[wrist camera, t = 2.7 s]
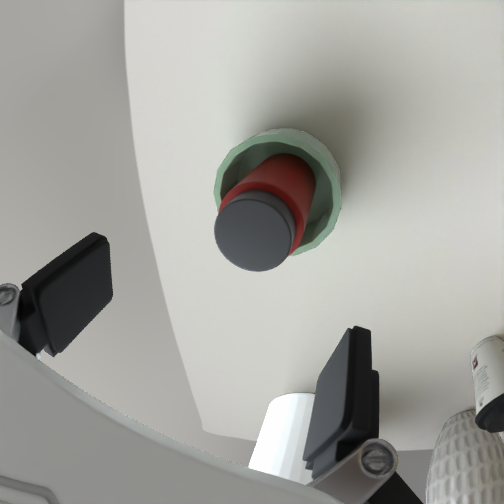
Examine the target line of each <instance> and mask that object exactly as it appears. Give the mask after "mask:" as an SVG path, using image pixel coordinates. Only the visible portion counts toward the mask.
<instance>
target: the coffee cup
mask: <svg viewBox="0 0 504 504" xmlns="http://www.w3.org/2000/svg"><path fill="white" fill-rule="evenodd" d="M470 357H471V366H472V373H473V382H474V391H475V403H476V417H475V423H476V424H477V426H478V427H479V428H480V429H482V430H487V431H488V432H489V433H496V432H502V431H504V342H503V341H502V339H501V338H499V337H489V338H487V339H484V340H483V341H481V342H480V343H478V344H477V345H476V346H475V348H474V349H473V350H472V352H471V355H470Z"/></svg>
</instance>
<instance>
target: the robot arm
mask: <svg viewBox="0 0 504 504" xmlns="http://www.w3.org/2000/svg"><path fill="white" fill-rule="evenodd" d="M109 246H110V245H109V242H108V241H107V238H106V237H105V236H103V235H100V234H98V233H95V232H93V233H91V234H89V235H88V236H86V237H85V238H83V239H82V240H80V241H79V242H78V243H76V244H75V245H73V246H72V247H70V248H69V249H68V250H66V251H65V252H63V253H62V254H61V255H59V256H58V257H56V258H55V259H54V260H52V261H51V262H50V263H49V264H47V265H46V266H45V267H43V268H42V269H40V270H39V271H38V272H37V273H35V274H34V275H32V276H31V277H30V278H29V279H28V280H26V281H25V282H24V283H22V284H21V285H22V288H23V289H22V290H21V291H19V288H18V287H17V286H16V285H14V284H10V283H6V284H2V285H0V504H423V503H422V502H421V501H420V499H419V498H418V497H417V496H416V495H415V494H414V492H413V491H412V490H411V489H410V488H409V487H408V485H407V484H406V483H405V482H404V481H403V480H402V478H401V477H400V476H399V475H398V474H397V473H396V469H397V466H398V455H397V452H396V450H395V449H394V447H393V446H392V445H391V444H390V443H389V442H387V441H385V440H383V439H379V373H378V371H376V370H372V350H371V331H370V330H368V329H365V328H362V327H358V326H354V327H353V329H351V328H348V329H347V330H346V332H345V334H344V335H343V337H342V339H341V341H340V342H339V344H338V346H337V347H336V349H335V351H334V352H333V354H332V356H331V357H330V359H329V360H328V362H327V364H326V365H325V367H324V368H323V370H322V372H321V373H320V375H319V378H318V381H317V386H316V392H315V398H314V403H313V409H312V414H311V419H310V424H309V429H308V434H307V439H306V443H305V448H304V453H303V458H302V459H303V461H307V462H306V466H305V469H307V470H312V475H311V477H312V479H313V480H312V481H311V482H309V483H308V484H307V485H304V484H301V483H298V482H295V481H292V480H288V479H285V478H282V477H278V476H275V475H272V474H269V473H265V472H262V471H258V470H255V469H252V468H249V467H246V466H243V465H240V464H237V463H234V462H231V461H228V460H226V459H223V458H220V457H217V456H215V455H212V454H209V453H207V452H204V451H201V450H199V449H196V448H194V447H191V446H188V445H187V444H184V443H182V442H180V441H177V440H175V439H173V438H171V437H168V436H166V435H164V434H162V433H160V432H158V431H155V430H154V429H151V428H149V427H147V426H145V425H143V424H141V423H139V422H138V421H135V420H134V419H131V418H130V417H128V416H126V415H124V414H122V413H120V412H119V411H117V410H115V409H113V408H112V407H110V406H108V405H106V404H105V403H103V402H101V401H100V400H98V399H96V398H95V397H93V396H91V395H90V394H88V393H87V392H85V391H84V390H82V389H80V388H79V387H77V386H76V385H74V384H73V383H71V382H70V381H68V380H67V379H65V378H64V377H62V376H61V375H59V374H58V373H56V372H55V371H54V370H52V369H51V368H49V367H48V366H47V365H45V364H44V363H43V362H41V361H40V352H41V350H42V349H43V348H44V351H45V352H47V353H48V354H49V355H51V356H52V357H54V356H55V355H56V354H57V353H61V352H62V351H63V350H64V349H65V348H66V347H67V346H68V345H69V344H70V343H71V342H72V341H73V340H74V339H75V337H76V336H77V335H78V334H79V333H80V332H81V331H82V330H83V329H84V328H85V327H86V326H87V325H88V324H89V323H90V322H91V321H92V320H93V319H94V318H95V317H96V315H97V314H98V313H99V312H100V311H101V310H102V309H103V308H104V307H105V306H106V305H107V304H108V303H109V302H110V301H111V299H112V297H113V289H112V278H111V263H110V247H109Z"/></svg>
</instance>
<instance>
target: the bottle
mask: <svg viewBox="0 0 504 504" xmlns="http://www.w3.org/2000/svg"><path fill="white" fill-rule="evenodd" d="M314 398H315V394H312V393H291V394H286V395H283V396H280V397H278V398H276V399H275V400H273V401H272V402H271V403H270V406H269V408H268V412H267V415H266V418H265V421H264V424H263V427H262V430H261V433H260V436H259V438H258V441H257V444H256V447H255V450H254V453H253V456H252V459H251V461H250V464H249V468H252V469H255V470H258V471H262V472H265V473H269V474H272V475H275V476H278V477H282V478H285V479H288V480H292V481H295V482H298V483H301V484H304V485H307V484H308V483H309V482H311V481H312V480H313V479H312V477H311V475H312V470H307V469H305V466H306V462H307V461H303V459H302V458H303V453H304V448H305V443H306V439H307V434H308V429H309V424H310V419H311V414H312V409H313V403H314Z"/></svg>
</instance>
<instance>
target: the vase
mask: <svg viewBox="0 0 504 504" xmlns="http://www.w3.org/2000/svg"><path fill="white" fill-rule="evenodd" d="M475 417H476V411H475V410H469V411H464V412H461V413H459V414H456V415H455V416H453V417H451V418H450V419H449V420H448V421H447V422H446V423H445V425H444V427H443V429H442V431H441V433H440V435H439V437H438V440H437V442H436V445H435V448H434V451H433V454H432V458H431V462H430V466H429V470H428V477H427V482H426V483H427V484H426V494H425V504H504V443H503V441H502V439H501V437H500V435H499V434H498V432H496V433H489V432H488V431H487V430H482V429H480V428H479V427H478V426H477V424H476V423H475Z"/></svg>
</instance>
